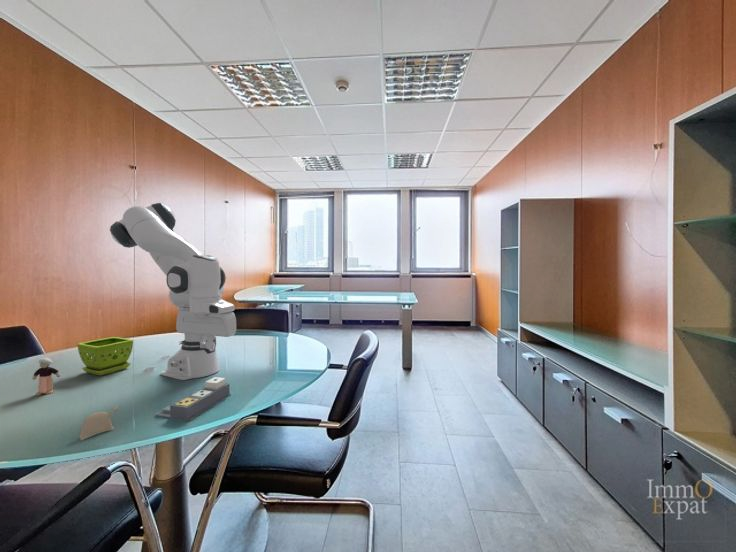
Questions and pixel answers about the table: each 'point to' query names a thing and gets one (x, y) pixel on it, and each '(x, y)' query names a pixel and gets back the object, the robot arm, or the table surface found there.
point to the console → (195, 405)
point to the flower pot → (105, 355)
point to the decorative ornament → (96, 424)
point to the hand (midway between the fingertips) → (206, 348)
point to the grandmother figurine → (45, 376)
